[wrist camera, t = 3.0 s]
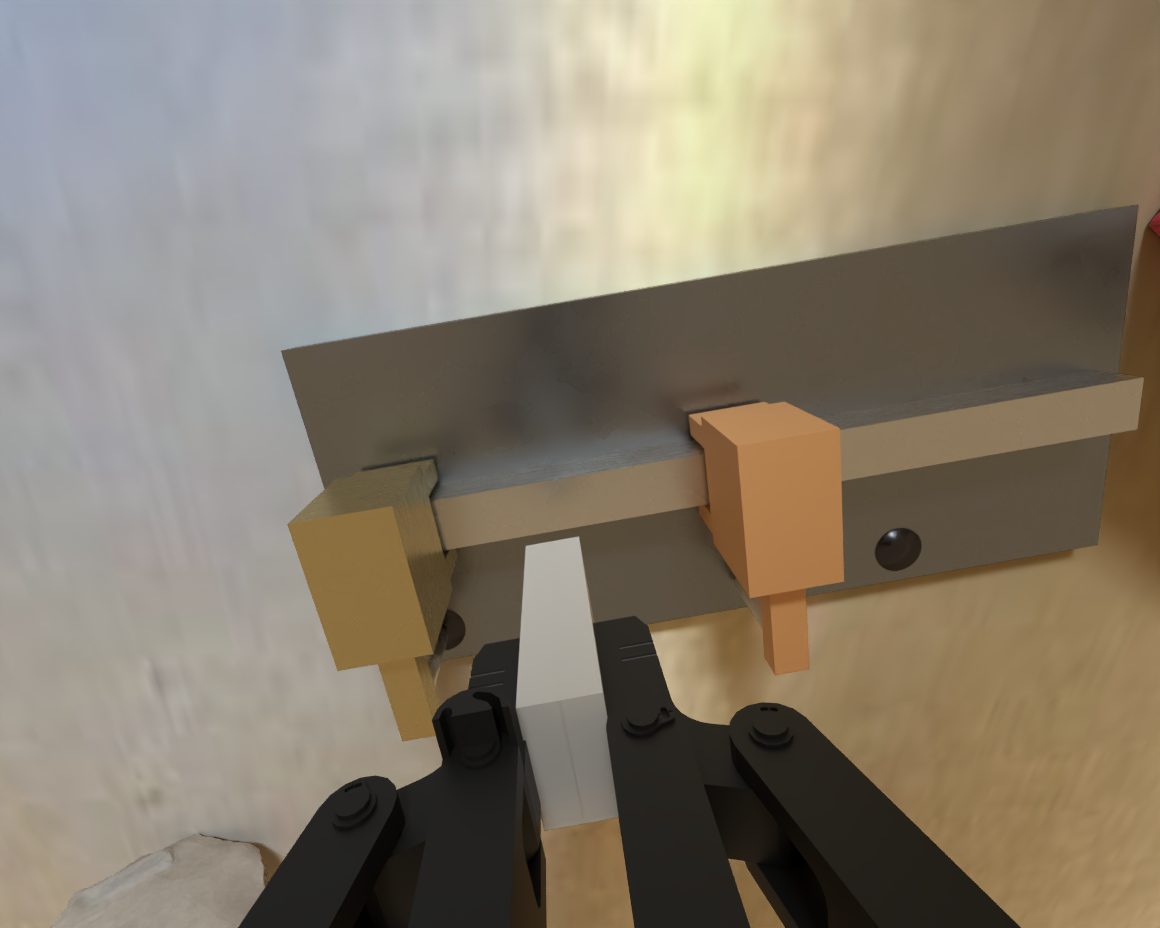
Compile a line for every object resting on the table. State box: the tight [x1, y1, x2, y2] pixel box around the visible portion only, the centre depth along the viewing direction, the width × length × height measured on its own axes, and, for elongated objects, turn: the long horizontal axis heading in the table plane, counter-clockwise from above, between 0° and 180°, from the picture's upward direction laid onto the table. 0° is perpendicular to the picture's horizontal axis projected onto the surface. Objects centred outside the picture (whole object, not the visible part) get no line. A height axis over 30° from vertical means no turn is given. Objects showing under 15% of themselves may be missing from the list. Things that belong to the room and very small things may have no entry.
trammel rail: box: [287, 370, 1144, 741], centre depth 21 cm, size 9×30×6 cm, turn 99°
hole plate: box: [281, 205, 1138, 660], centre depth 24 cm, size 14×32×1 cm, turn 99°
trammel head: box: [689, 402, 844, 675], centre depth 21 cm, size 9×3×6 cm, turn 9°
